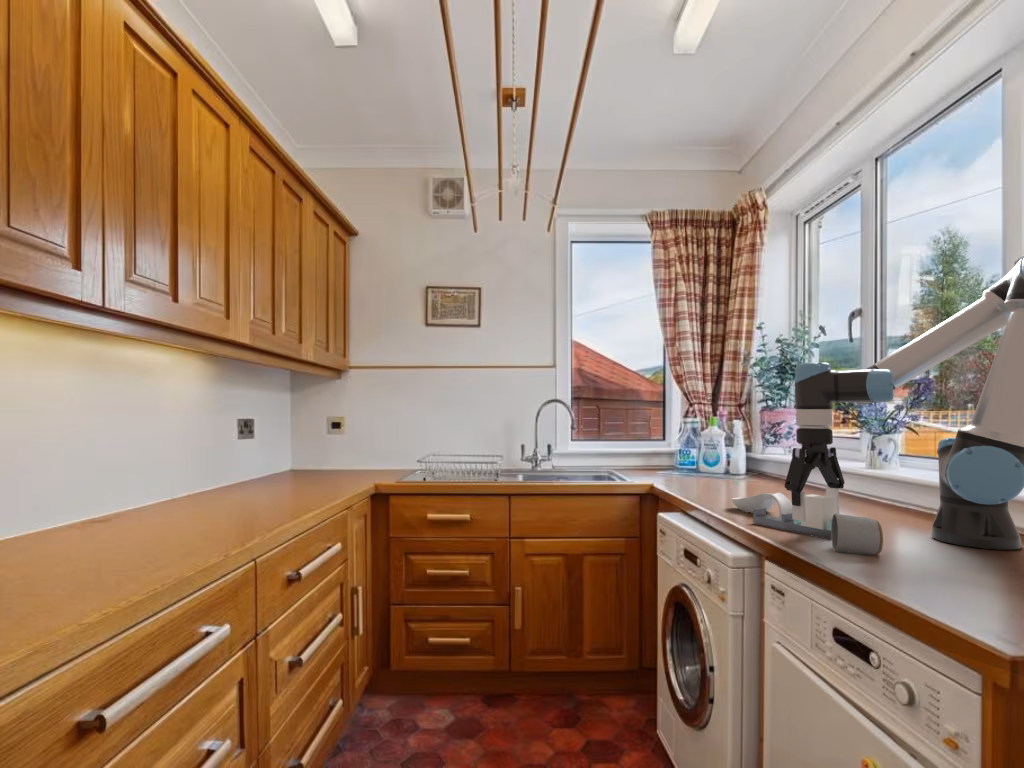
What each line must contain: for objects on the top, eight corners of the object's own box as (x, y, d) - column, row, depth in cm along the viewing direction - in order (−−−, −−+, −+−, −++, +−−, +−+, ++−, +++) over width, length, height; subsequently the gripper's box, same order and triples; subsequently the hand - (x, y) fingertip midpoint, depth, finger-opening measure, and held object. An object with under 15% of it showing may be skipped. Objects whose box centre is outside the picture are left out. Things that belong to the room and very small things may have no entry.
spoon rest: (724, 508, 162) (723, 484, 162) (760, 508, 163) (760, 484, 163) (769, 524, 138) (768, 496, 139) (811, 523, 139) (810, 496, 140)
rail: (841, 537, 122) (840, 521, 122) (831, 539, 120) (830, 522, 120) (762, 522, 140) (762, 507, 140) (753, 523, 138) (752, 508, 138)
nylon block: (834, 527, 124) (833, 497, 124) (822, 529, 121) (821, 498, 122) (813, 523, 128) (812, 494, 129) (801, 525, 126) (800, 495, 126)
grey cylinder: (886, 559, 104) (884, 519, 104) (837, 555, 107) (836, 516, 107) (870, 548, 114) (869, 511, 114) (827, 544, 117) (826, 509, 117)
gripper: (828, 427, 136) (830, 510, 135) (766, 427, 124) (768, 519, 122) (859, 427, 129) (861, 515, 128) (797, 428, 117) (799, 525, 116)
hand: (816, 517), depth 125 cm, fingers open, 13 cm apart
